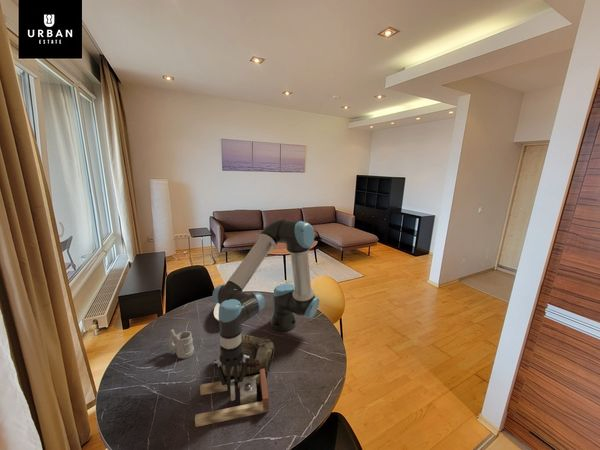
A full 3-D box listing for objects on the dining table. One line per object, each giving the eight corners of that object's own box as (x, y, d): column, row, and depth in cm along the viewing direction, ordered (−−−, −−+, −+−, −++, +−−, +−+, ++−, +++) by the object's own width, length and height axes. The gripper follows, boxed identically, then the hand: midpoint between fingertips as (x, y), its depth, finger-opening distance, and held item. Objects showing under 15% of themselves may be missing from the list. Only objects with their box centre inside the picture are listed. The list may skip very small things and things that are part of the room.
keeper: (255, 390, 98) (255, 377, 97) (256, 406, 92) (256, 392, 90) (240, 393, 97) (240, 379, 96) (240, 409, 90) (240, 395, 89)
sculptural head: (278, 326, 119) (227, 319, 119) (273, 349, 98) (211, 340, 98) (272, 362, 119) (222, 354, 119) (267, 392, 98) (205, 383, 98)
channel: (264, 380, 103) (264, 368, 102) (268, 411, 90) (268, 397, 88) (201, 392, 97) (200, 379, 96) (195, 427, 84) (194, 412, 82)
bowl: (236, 330, 136) (235, 320, 134) (208, 330, 135) (207, 320, 133) (244, 302, 165) (244, 293, 164) (222, 302, 164) (221, 293, 163)
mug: (188, 360, 113) (186, 337, 110) (164, 357, 114) (162, 334, 112) (197, 348, 120) (195, 327, 118) (174, 346, 122) (172, 324, 119)
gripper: (249, 333, 93) (250, 385, 98) (212, 338, 90) (215, 392, 95) (250, 346, 86) (251, 402, 91) (211, 352, 83) (214, 410, 87)
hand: (233, 397), depth 93 cm, fingers closed
